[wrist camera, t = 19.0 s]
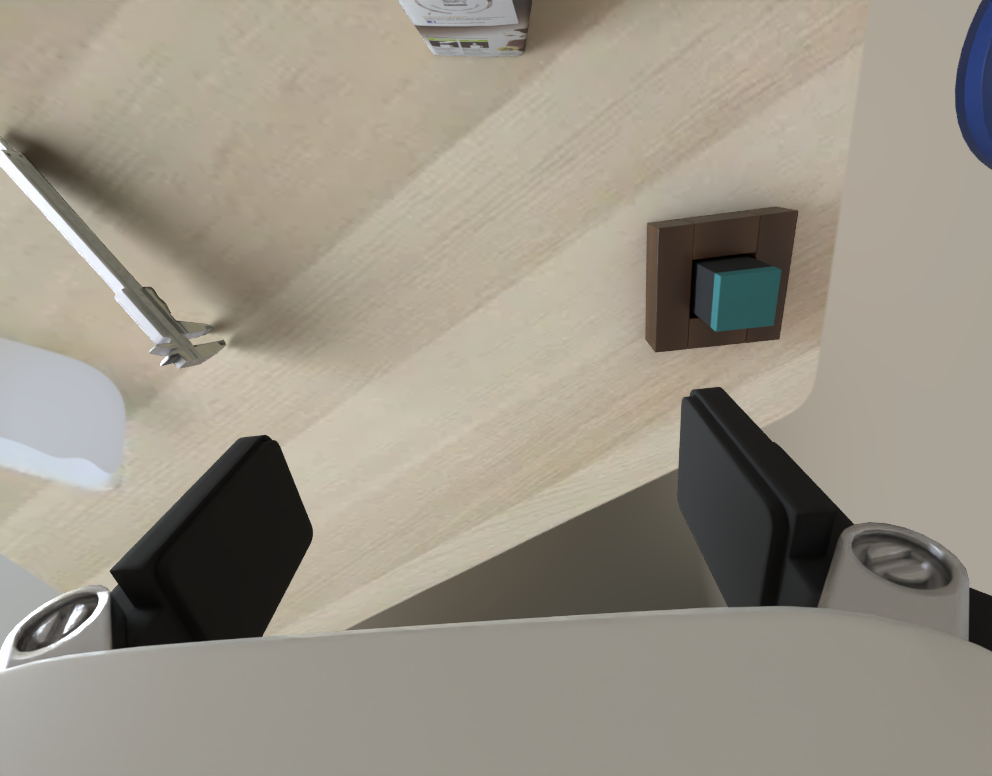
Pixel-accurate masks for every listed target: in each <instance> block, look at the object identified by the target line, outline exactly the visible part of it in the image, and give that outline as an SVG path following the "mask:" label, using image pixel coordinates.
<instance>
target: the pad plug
mask: <svg viewBox="0 0 992 776" xmlns="http://www.w3.org/2000/svg"><path fill="white" fill-rule="evenodd" d="M780 277H781V269H779V268H777V267H774V266H772V265H769V264H767V263H764V262H762V261H759V260H757V259H754V258H752V257H749V256H747V255H744V254H737V255H729V256H720V257H712V258H704V259H696V260H693V259H692V277H691V295H690V310H691V311H692V312H693V313H694V314H695V315H697V316H698V317H699V318H700V319H701V320H703V321H704V322H705V323H706V324H707V325H709V326H710V327H711V328H712V329H713V330H714V331H716V332H719V331H728V330H737V329H747V328H756V327H765V326H773V325H774V320H775V313H776V306H777V298H778V291H779V284H780Z"/></svg>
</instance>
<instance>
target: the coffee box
mask: <svg viewBox="0 0 992 776" xmlns="http://www.w3.org/2000/svg"><path fill="white" fill-rule="evenodd" d="M398 2H399V3H400V5H401V6H402V8H403V10H404V11H405V13H406V14H407V16H408V17H409V19H410V20H411V22H412V23H413V24H414V26H415V27H416V29H417V30H418V31H419V33H420V35H421V36H422V38H423V39H424V41H425V42H426V44H427V45H428V47H429V48H430V50H431V51H432V53H433V54H434V55H450V56H495V57H498V56H521V55H523V54H524V52H525V46H526V40H527V34H528V27H529V19H530V13H531V6H532V0H398Z"/></svg>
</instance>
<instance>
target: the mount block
mask: <svg viewBox="0 0 992 776" xmlns="http://www.w3.org/2000/svg"><path fill="white" fill-rule="evenodd" d="M797 216H798V211H797V210H792V209H786V208H780V207H769V208H762V209H754V210H746V211H738V212H730V213H722V214H715V215H707V216H699V217H691V218H683V219H676V220H668V221H660V222H652V223H647V269H646V341H647V342H648V343H649V345H650V346H651V347H652V349H653V350H654V351H655V352H664V351H673V350H683V349H687V348H688V349H691V348H701V347H710V346H720V345H729V344H739V343H745V342H746V343H749V342H758V341H768V340H777V339H779V338H780V332H781V325H782V318H783V311H784V304H785V298H786V291H787V284H788V277H789V271H790V264H791V257H792V250H793V244H794V237H795V230H796V223H797ZM737 254H744V255H747V256H749V257H752V258H754V259H757V260H759V261H762V262H764V263H767V264H769V265H772V266H774V267H777V268H779V269H781V277H780V284H779V291H778V298H777V306H776V313H775V320H774V325H773V326H765V327H756V328H747V329H737V330H728V331H719V332H716V331H714V330H713V329H712V328H711V327H710V326H709V325H707V324H706V323H705V322H704V321H703V320H701V319H700V318H699V317H698V316H697V315H695V314H694V313H693V312H692V311H691V310H690V295H691V277H692V259H693V260H696V259H704V258H712V257H720V256H729V255H737Z"/></svg>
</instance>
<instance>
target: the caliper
mask: <svg viewBox="0 0 992 776" xmlns="http://www.w3.org/2000/svg"><path fill="white" fill-rule="evenodd" d="M0 166H1V167H2V168H3V169H4V171H5V172H6V173H7V174H8V175H9V176H10V177H11V178H12V179H13V181H14V182H15V183H16V184H17V185H18V186H19V187H20V188H21V189H22V191H23V192H24V193H25V194H26V195H27V196H28V197H29V198H30V199H31V201H32V202H33V203H34V204H35V205H36V206H37V207H38V208H39V209H40V211H41V212H42V213H43V214H44V215H45V216H46V217H47V218H48V219H49V220H50V222H51V223H52V224H53V225H54V226H55V227H56V228H57V229H58V230H59V231H60V233H61V234H62V235H63V236H64V237H65V238H66V239H67V240H68V241H69V242H70V244H71V245H72V246H73V247H74V248H75V249H76V250H77V251H78V252H79V253H80V255H81V256H82V257H83V258H84V259H85V260H86V261H87V262H88V263H89V264H90V266H91V267H92V268H93V269H94V270H95V271H96V272H97V273H98V274H99V275H100V277H101V278H102V279H103V280H104V281H105V282H106V283H107V284H108V285H109V287H110V288H111V289H112V290H113V291H114V292H115V293H116V294H117V295H116V296H115V297H114V298H115V299H116V301H117V302H118V303H119V304H120V305H121V306H122V307H123V308H124V310H125V311H126V312H127V313H128V314H129V315H130V316H131V317H132V319H133V320H134V321H135V322H136V323H137V324H138V325H139V326H140V328H141V329H142V330H143V331H144V332H145V333H146V334H147V335H148V337H149V338H150V339H151V340H152V341H153V342H154V343H155V344H156V345H155V346H154V347H153V348H152V349H151V350H150V351H149V353H150V354H154V355H160V356H167V355H168V356H167V357H166V358H165V359H164V360H163V361H162V362H161V364H160V365H161V366H163V365H167V364H171V363H174V364H175V365H176V366H177V367H178V368H179V369H180V368H185V367H189V366H194V365H198V364H201V363H203V362H204V361H206V360H207V359H209V358H211V357H212V356H214V355H215V354H217V353H218V352H219V351H220V350H221V349H222V348H223V347H224V346H226V343H225V341H224V340H221V341H216V342H211V343H205V344H200V345H194V346H193V345H192V343H191V342H190V341H189V340H188V339H191V338H197V337H200V336H202V335H206V334H207V333H208V332H209V331H210V330H211V329H212V328H213V327H212V326H210V325H208V324H203V323H194V322H184V321H176V320H175V319H174V318H173V317H172V316H171V314H170V313H171V312H170V310H169V309H168V307H167V305H166V303H165V302H164V301H163V300H162V299H160V298H159V297H158V295H157V294H156V292H155V290H154V289H153V288H152V287H142V286H141V285H140V284H139V283H138V282H137V281H136V280H135V279H134V278H133V276H132V275H131V274H130V273H129V272H128V271H127V270H126V269H125V267H124V266H123V265H122V264H121V263H120V262H119V261H118V260H117V259H116V257H115V256H114V255H113V254H112V253H111V252H110V251H109V250H108V249H107V247H106V246H105V245H104V244H103V243H102V242H101V241H100V240H99V238H98V237H97V236H96V235H95V234H94V233H93V232H92V231H91V230H90V228H89V227H88V226H87V225H86V224H85V223H84V222H83V221H82V219H81V218H80V217H79V216H78V215H77V214H76V213H75V211H74V210H73V209H72V208H71V207H70V206H69V205H68V204H67V202H66V201H65V200H64V199H63V198H62V197H61V196H60V195H59V193H58V192H57V191H56V190H55V189H54V188H53V187H52V186H51V184H50V183H49V182H48V181H47V180H46V179H45V178H44V176H43V175H42V174H41V173H40V172H39V171H38V170H37V169H36V167H35V166H34V165H33V164H32V163H31V162H30V161H29V160H28V158H27V157H26V156H25V155H24V154H23V153H21V152H17V151H14V150H13V149H12V148H11V147H10V146H9V145H8V143H7V142H6V141H5V140H4V139H3V138H2V137H1V136H0Z"/></svg>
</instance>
